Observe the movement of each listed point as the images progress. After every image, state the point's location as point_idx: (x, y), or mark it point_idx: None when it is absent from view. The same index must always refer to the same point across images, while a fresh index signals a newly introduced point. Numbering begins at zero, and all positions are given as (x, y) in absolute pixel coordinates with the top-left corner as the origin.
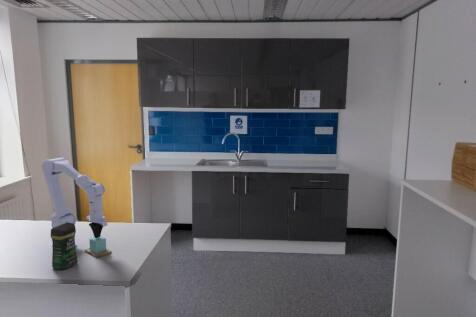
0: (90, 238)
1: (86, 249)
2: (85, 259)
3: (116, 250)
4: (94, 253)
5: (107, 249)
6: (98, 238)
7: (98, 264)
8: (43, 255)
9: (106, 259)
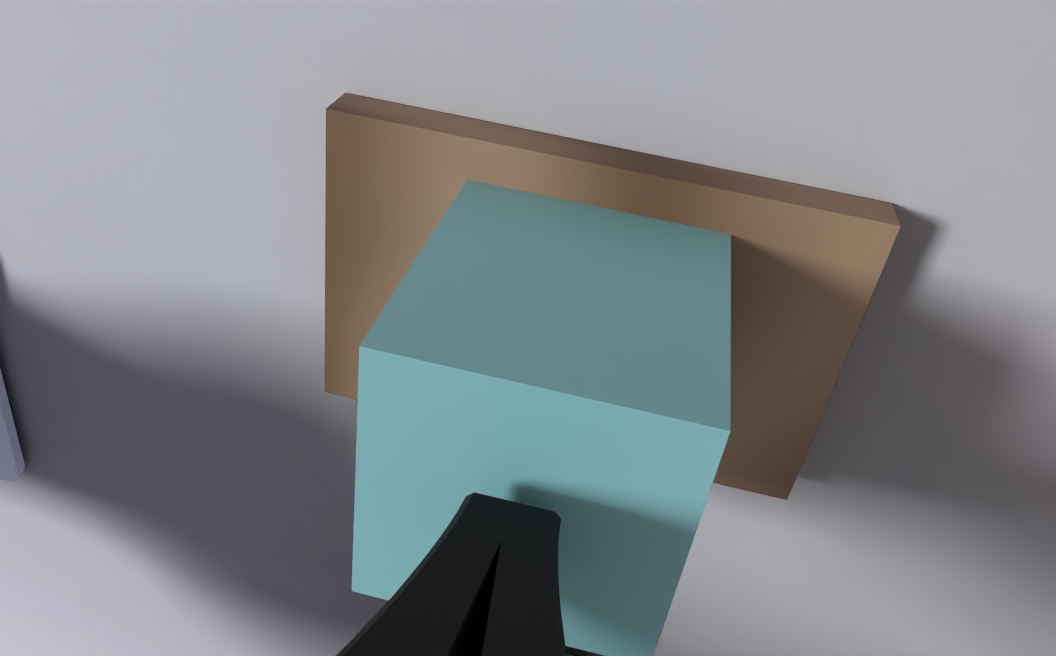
0: (357, 574)
1: (333, 370)
2: None
3: (920, 34)
4: None
5: (736, 202)
6: None
7: (979, 618)
8: (24, 611)
9: (997, 459)
